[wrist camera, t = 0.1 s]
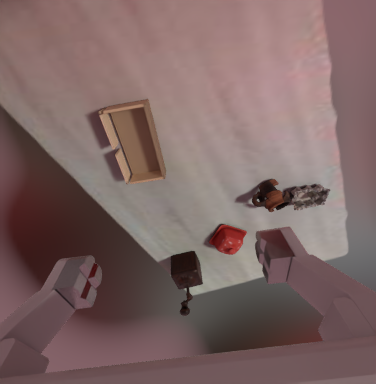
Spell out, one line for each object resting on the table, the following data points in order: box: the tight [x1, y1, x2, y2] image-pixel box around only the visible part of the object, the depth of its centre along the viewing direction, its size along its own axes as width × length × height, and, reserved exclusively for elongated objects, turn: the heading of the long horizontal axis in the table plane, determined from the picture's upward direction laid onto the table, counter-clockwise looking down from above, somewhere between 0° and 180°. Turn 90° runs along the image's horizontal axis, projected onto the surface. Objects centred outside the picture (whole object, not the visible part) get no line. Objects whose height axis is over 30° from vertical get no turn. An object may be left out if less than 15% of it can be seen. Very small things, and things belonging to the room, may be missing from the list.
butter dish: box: [209, 225, 247, 255], centre depth 75 cm, size 12×12×8 cm
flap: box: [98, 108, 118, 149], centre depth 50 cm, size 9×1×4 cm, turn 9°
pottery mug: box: [252, 179, 291, 212], centre depth 65 cm, size 12×9×8 cm
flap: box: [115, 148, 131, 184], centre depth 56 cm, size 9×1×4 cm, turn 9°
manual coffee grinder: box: [171, 251, 203, 316], centre depth 80 cm, size 16×11×18 cm
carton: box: [103, 99, 166, 184], centre depth 53 cm, size 20×10×5 cm, turn 9°
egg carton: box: [290, 184, 330, 210], centre depth 66 cm, size 11×8×4 cm
